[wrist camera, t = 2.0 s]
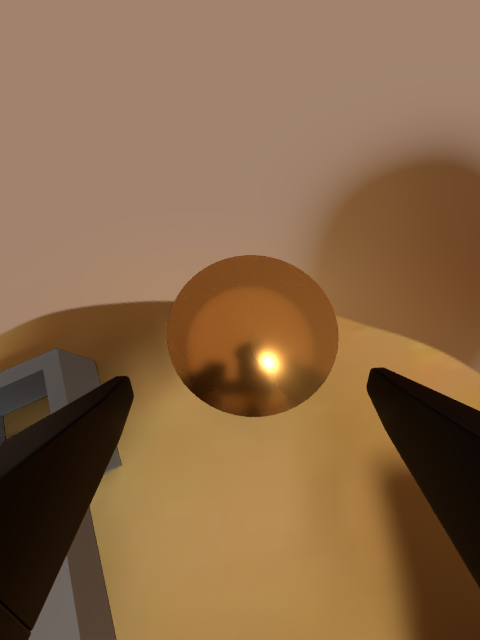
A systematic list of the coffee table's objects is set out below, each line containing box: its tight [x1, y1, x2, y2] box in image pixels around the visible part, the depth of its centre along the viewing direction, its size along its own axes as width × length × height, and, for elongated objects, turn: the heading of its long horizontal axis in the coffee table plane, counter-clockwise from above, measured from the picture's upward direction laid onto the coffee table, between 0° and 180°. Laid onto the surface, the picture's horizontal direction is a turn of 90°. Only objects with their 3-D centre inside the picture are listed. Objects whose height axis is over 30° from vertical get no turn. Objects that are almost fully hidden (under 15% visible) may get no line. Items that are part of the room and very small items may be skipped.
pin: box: [167, 255, 338, 417], centre depth 11 cm, size 4×4×13 cm
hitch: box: [0, 348, 121, 640], centre depth 12 cm, size 24×8×4 cm, turn 27°
